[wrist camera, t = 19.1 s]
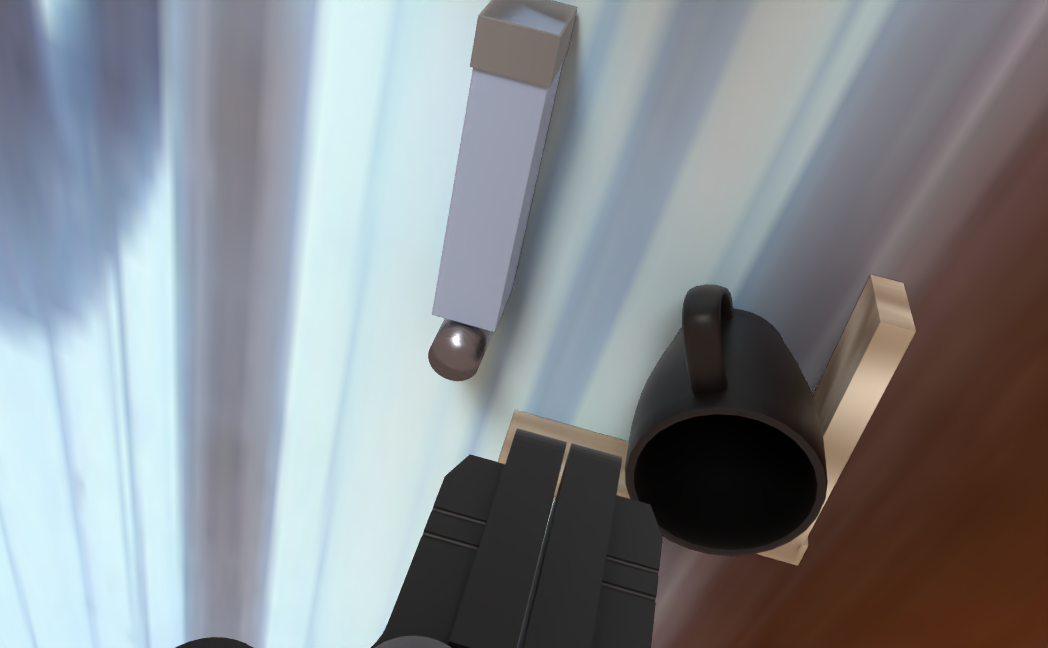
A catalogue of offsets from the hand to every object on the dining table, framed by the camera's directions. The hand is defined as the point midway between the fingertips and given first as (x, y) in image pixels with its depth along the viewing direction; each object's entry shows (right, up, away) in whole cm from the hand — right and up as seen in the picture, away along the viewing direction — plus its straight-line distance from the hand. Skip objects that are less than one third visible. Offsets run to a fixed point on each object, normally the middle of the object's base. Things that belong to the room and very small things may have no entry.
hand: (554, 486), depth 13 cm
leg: (-1, +10, +30) cm, 31 cm away
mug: (+9, +2, +33) cm, 34 cm away
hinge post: (-3, +3, +35) cm, 35 cm away
